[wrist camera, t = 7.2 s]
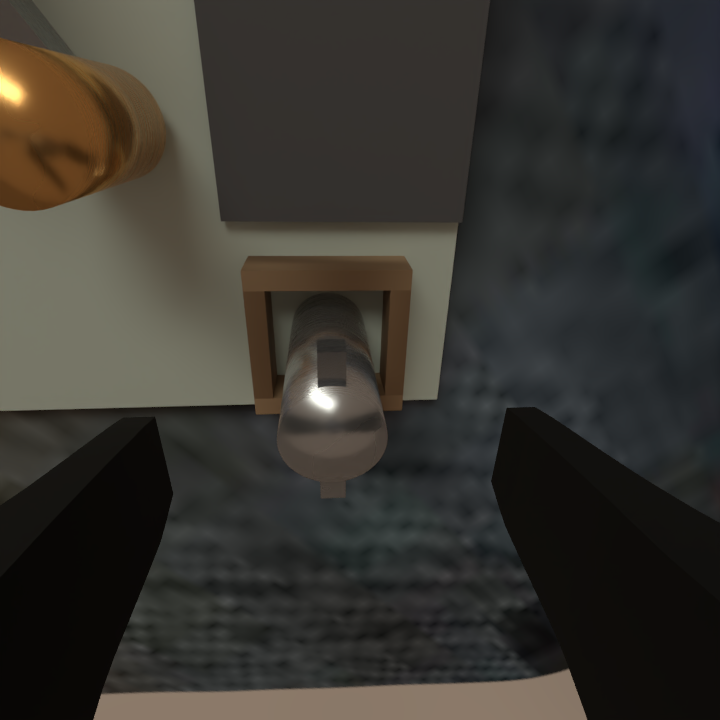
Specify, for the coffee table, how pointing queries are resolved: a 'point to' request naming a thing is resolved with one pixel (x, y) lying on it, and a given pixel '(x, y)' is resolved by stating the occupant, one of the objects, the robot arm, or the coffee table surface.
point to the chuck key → (330, 396)
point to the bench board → (175, 255)
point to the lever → (67, 117)
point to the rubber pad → (341, 107)
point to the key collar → (326, 276)
